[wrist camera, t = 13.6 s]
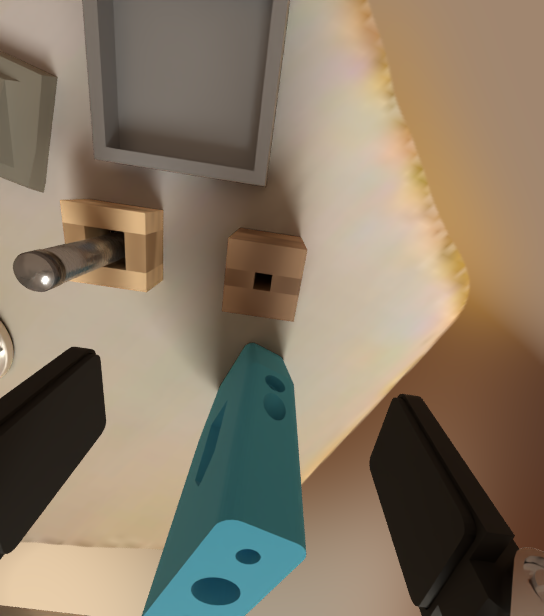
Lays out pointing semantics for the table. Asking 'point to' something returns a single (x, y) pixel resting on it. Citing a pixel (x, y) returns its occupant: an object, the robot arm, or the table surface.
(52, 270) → the gauge pin
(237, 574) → the block
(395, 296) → the table surface
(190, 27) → the tray
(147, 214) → the oak block
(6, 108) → the soap mold
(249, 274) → the walnut block
